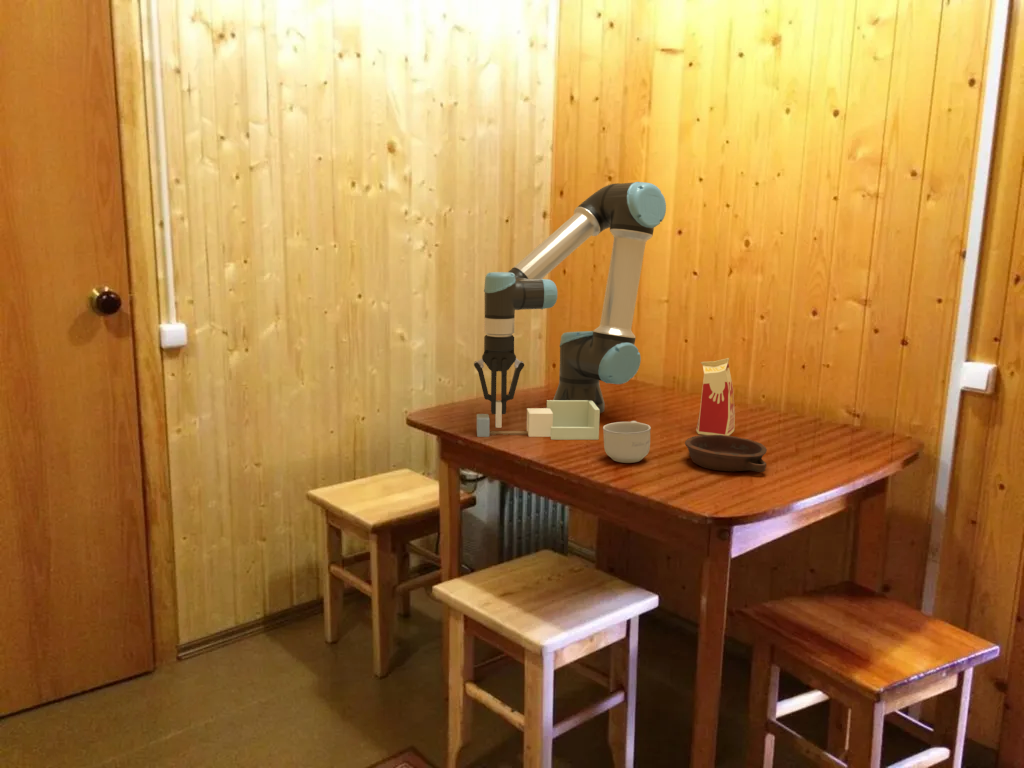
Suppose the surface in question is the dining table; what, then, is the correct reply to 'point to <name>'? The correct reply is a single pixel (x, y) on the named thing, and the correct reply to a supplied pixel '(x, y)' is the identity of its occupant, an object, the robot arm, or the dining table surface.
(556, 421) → the shelf lane
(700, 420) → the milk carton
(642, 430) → the teacup
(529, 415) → the tethered block
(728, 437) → the dish
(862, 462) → the dining table surface
